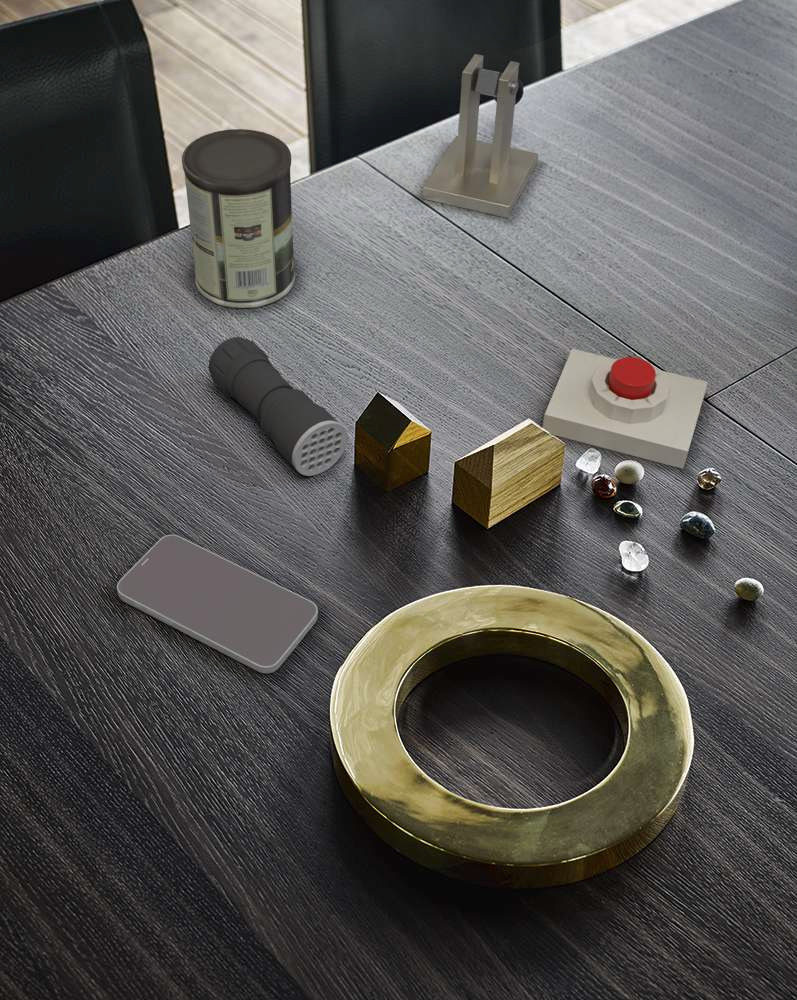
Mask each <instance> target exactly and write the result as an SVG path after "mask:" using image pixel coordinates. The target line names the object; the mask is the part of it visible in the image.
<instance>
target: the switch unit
mask: <svg viewBox="0 0 797 1000" xmlns="http://www.w3.org/2000/svg"><path fill="white" fill-rule="evenodd" d="M484 57H485V56H484V55H481V54H477V53H475V54H474V55H472V57H471V59H470V60H469V62H468V64H467V65H466V67H464V69H463V70H462V72H461V73H462V74H461V78H460V79H461V80H460V81H461V82H460V83H461V89H460V100H459V101H460V103H459V114H458V115H459V116H458V129H457V135H455V137H454V139H452V142H451V143H450V145H449V146H448V148H447V149H446V150H445V152H444V154H443V156H442V157H441V158H440V160H439V162H438V163H437V165H436V167H435V168H434V170H433V171H432V173H431V174H430V176H429V177H428V179H427V180H426V182H425V183H424V185H423V187H422V200H427V201H430V202H434V203H435V202H436V203H440V204H443V205H448V206H453V207H457V208H462V209H466V210H471V211H475V212H479V213H484V214H488V215H493V216H497V217H501V218H506V219H509V217H510V216H511V214H512V212H513V210H514V208H515V206H516V204H517V202H518V201H519V199H520V197H521V195H522V193H523V191H524V190H525V187H526V185H527V184H528V183H529V180H530V178H531V176H532V175H533V172H534V171H535V169H536V167H537V166H538V161H539V160H538V157H539V153H538V152H533V151H529V150H524V149H519V148H515V147H511V146H512V145H511V143H512V137H513V136H512V135H513V126H514V115H515V108H516V105H515V99H516V93H517V90H518V82H517V81H518V78H519V71H520V70H519V69H520V62H517V61H512V60H510V62H509V63H508V64H507V66H506V67H505V69H504V71H503V72H502V76H501V77H500V79H499V85H498V95H497V102H496V105H495V117H494V127H493V135H492V136H493V137H492V142H487V141H483V140H478V139H477V138H478V137H477V136H478V125H479V115H480V102H481V101H480V100H481V94H480V93H477V92H475V88H476V84H477V79H478V74H479V69H480V68H481V69H484V67H483V66H484Z"/></svg>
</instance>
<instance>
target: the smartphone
mask: <svg viewBox="0 0 797 1000" xmlns="http://www.w3.org/2000/svg"><path fill="white" fill-rule="evenodd" d="M116 591H117V596H118V598H119V599H120V600H121V601H122V602H124V603H126V604H128V605H130V606H131V607H133V608H135V609H137V610H139V611H140V612H143V613H145V614H146V615H149V616H150V617H153V618H154V619H156V620H158V621H160V622H162V623H164V624H166V625H168V626H170V627H172V628H174V629H176V630H178V631H179V632H182V633H183V634H185V635H187V636H190V637H191V638H193V639H195V640H197V641H199V642H200V643H203V644H204V645H206V646H208V647H210V648H212V649H214V650H216V651H217V652H220V653H222V654H224V655H226V656H228V658H231V659H233V660H235V661H236V662H239V663H241V664H243V665H245V666H247V667H248V668H250V669H252V670H255V671H256V672H258V673H261V674H271V673H275V672H276V671H277V670H279V668H280V667H281V666H282V665H283V664H284V663H285V661H286V660H287V659H288V657H289V656H291V654H292V652H294V650H295V649H296V648H297V647H298V645H299V644H300V642H301V641H302V640H303V639H304V638H305V636H306V635H307V634H308V633H309V631H310V630H311V629H312V628H313V627H314V625H315V624H316V623H317V621H318V617H319V610H318V606H317V605H316V604H315V602H313V601H312V600H310V599H308V598H306V597H304V596H302V595H301V594H298V593H296V592H293V591H291V590H290V589H288V588H286V587H284V586H282V585H280V584H278V583H276V582H274V581H272V580H270V579H268V578H265V577H263V576H261V575H259V574H257V573H256V572H253V571H251V570H249V569H247V568H245V567H243V566H241V565H239V564H237V563H235V562H233V561H230V559H229V560H228V559H226V558H225V557H223V556H220V555H219V554H216V553H214V552H213V551H211V550H208V549H207V548H204V547H202V546H200V545H198V544H196V543H194V542H192V541H190V540H188V539H186V538H184V537H182V536H180V535H177V534H167V535H164V536H162V537H161V538H159V540H157V541H156V542H155V544H153V545H152V546H151V548H149V550H147V552H145V554H143V556H141V558H140V559H138V561H136V562H135V564H134V565H133V566H132V567H131V568H130V569H128V571H127V572H126V573H125V574H124V575H123V576H122V577H121V578H120V579H119V580H118V582H117V584H116Z"/></svg>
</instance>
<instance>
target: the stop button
mask: <svg viewBox="0 0 797 1000" xmlns="http://www.w3.org/2000/svg"><path fill="white" fill-rule="evenodd" d="M617 359H618V360H617V361H615V362H614V363H613V364H612V366H611V371H610V376H609V381H608V385H609V388H610V390H611V391H612V392H613V393H614V394H616V395H617V396H618V397H622V398H626V399H630V400H637V399H644V398H646V397H648V396H649V395H650V394H651V392H652V390H653V385H654V381H655V377H656V372H655V369H654V367H653V366H654V365H653V364H652V365H653V366H652V365H651V363H650V362H648V361H647V360H644V359H642V358H639V357H634V356H625V357H621V358H617Z"/></svg>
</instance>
